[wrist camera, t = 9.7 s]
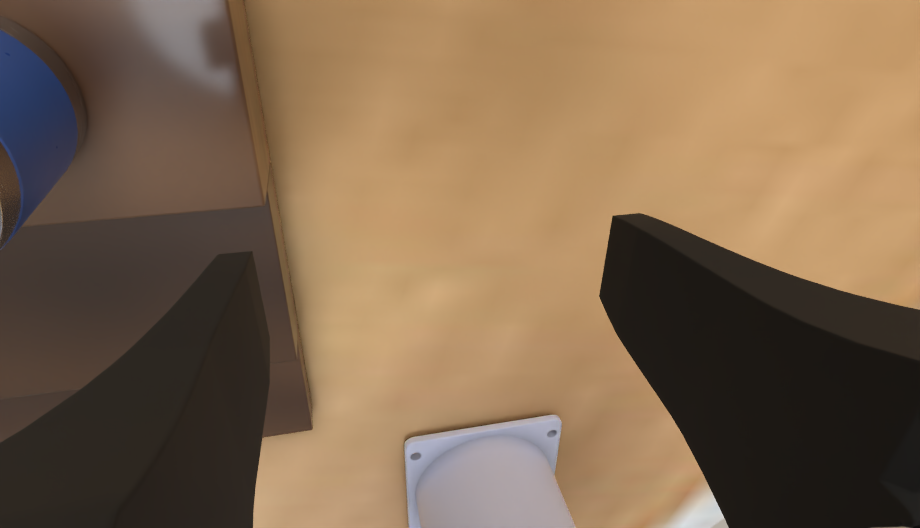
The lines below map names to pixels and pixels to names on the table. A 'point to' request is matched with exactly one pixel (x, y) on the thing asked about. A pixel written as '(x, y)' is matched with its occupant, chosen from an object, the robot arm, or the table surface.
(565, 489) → the table surface
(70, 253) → the step shelf
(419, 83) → the table surface
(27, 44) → the can
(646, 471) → the table surface
